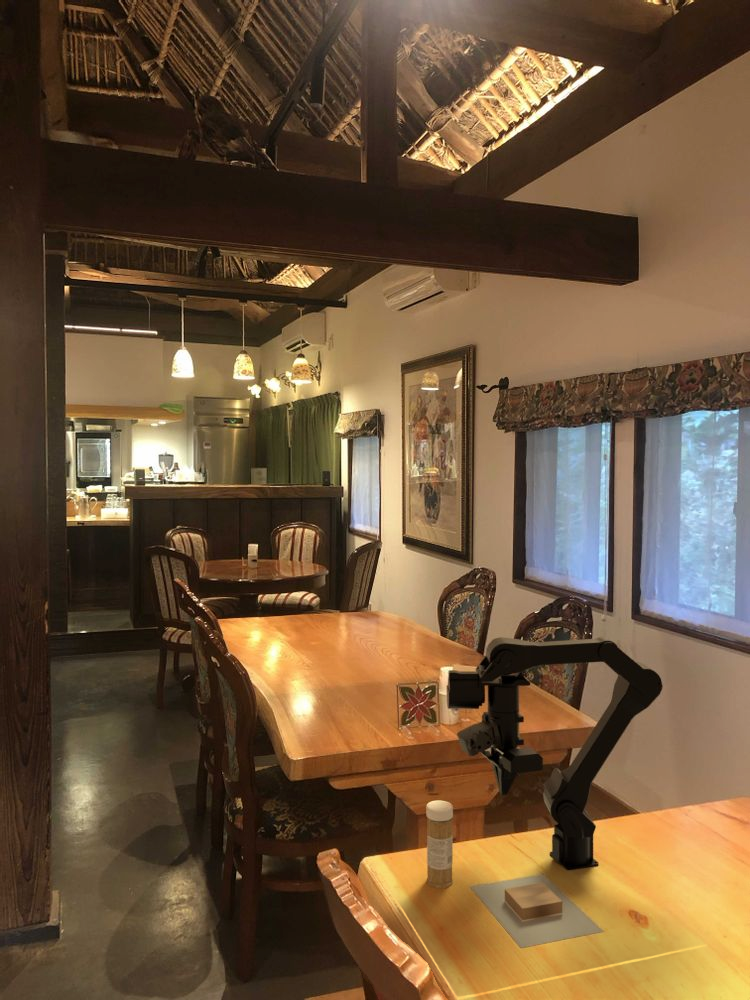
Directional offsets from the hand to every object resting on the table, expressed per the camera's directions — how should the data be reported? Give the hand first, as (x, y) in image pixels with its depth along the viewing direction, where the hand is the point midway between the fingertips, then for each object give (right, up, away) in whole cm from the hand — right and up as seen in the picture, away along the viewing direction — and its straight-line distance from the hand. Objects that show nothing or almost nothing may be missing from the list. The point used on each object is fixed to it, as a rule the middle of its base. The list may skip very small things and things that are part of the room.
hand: (503, 794), depth 133 cm
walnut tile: (+1, -11, -13) cm, 17 cm away
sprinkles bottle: (-12, -12, -8) cm, 19 cm away
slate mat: (+2, -12, -16) cm, 20 cm away
